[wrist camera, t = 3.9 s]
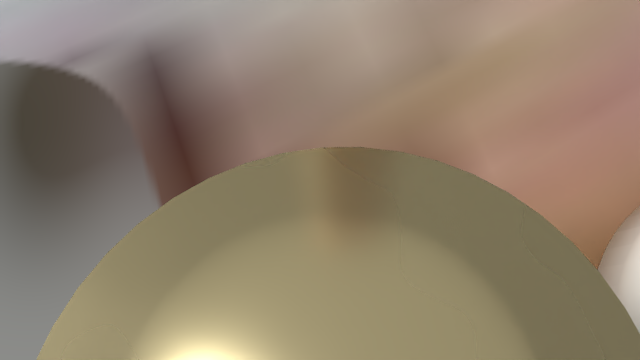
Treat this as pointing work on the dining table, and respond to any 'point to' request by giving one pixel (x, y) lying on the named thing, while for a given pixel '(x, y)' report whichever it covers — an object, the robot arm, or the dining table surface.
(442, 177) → the grey tin
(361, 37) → the dining table surface
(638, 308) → the ceramic trivet
